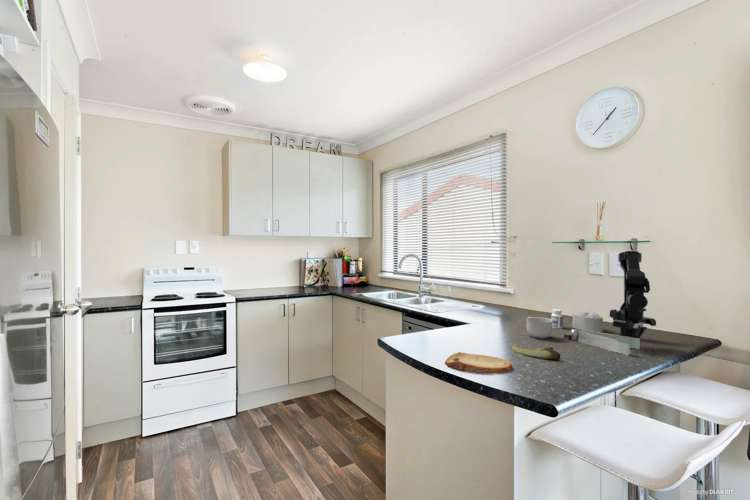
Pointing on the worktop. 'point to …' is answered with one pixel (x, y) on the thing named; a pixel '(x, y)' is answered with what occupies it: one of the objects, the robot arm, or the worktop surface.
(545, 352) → the olive green elongated piece
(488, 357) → the bread slice
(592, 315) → the lumpy-topped squat cylinder
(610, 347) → the tongs fixed arm
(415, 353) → the worktop surface
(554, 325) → the pill bottle
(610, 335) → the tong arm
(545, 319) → the teacup
